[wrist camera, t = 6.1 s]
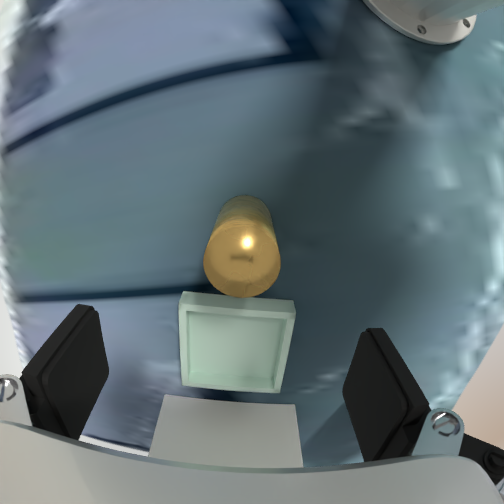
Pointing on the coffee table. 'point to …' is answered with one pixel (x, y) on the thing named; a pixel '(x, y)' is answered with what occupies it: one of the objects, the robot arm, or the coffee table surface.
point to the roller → (242, 249)
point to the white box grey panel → (227, 433)
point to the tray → (234, 341)
